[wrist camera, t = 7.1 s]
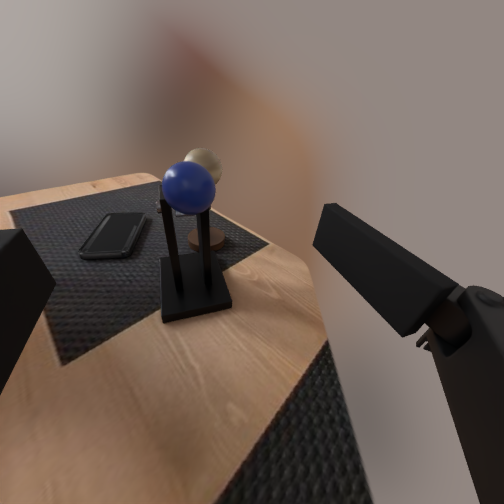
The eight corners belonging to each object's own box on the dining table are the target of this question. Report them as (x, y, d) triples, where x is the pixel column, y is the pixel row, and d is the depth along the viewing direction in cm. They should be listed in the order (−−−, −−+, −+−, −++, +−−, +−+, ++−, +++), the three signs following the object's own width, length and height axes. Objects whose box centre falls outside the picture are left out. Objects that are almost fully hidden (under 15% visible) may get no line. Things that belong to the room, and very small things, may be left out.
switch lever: (222, 210, 14) (216, 153, 14) (164, 215, 13) (155, 153, 13) (200, 219, 28) (196, 191, 27) (170, 222, 27) (166, 192, 26)
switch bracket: (232, 308, 30) (235, 210, 21) (163, 323, 27) (134, 218, 19) (214, 256, 39) (212, 173, 30) (161, 264, 36) (141, 175, 28)
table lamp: (190, 255, 39) (179, 153, 29) (186, 235, 44) (175, 143, 34) (228, 249, 41) (230, 154, 31) (220, 231, 46) (219, 144, 36)
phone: (75, 254, 35) (107, 212, 47) (78, 260, 35) (109, 217, 47) (128, 252, 36) (146, 212, 48) (130, 257, 37) (147, 216, 49)
